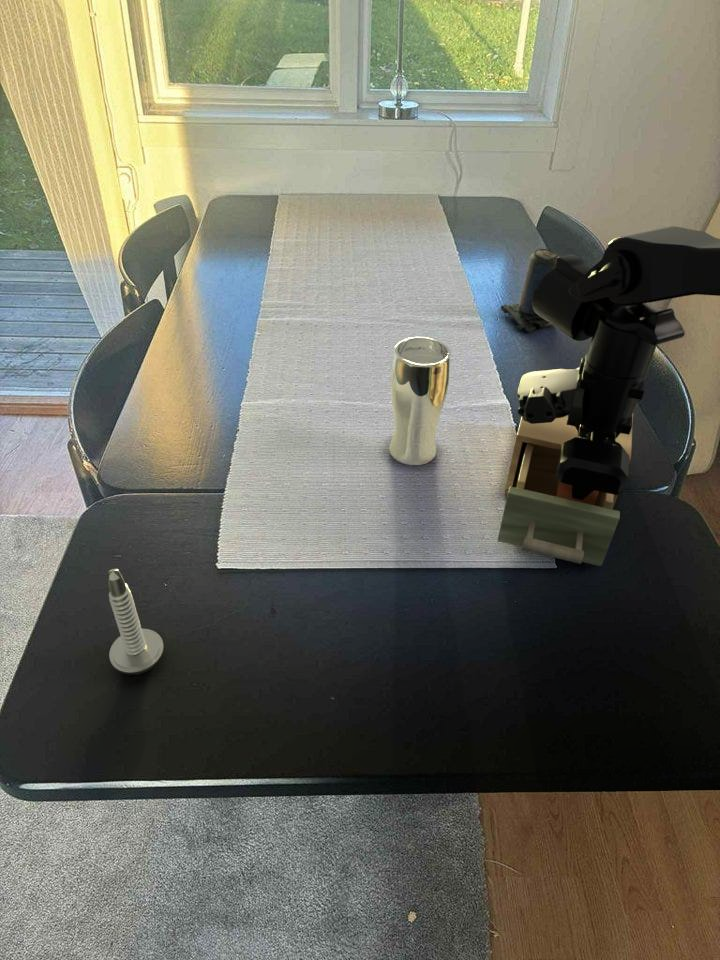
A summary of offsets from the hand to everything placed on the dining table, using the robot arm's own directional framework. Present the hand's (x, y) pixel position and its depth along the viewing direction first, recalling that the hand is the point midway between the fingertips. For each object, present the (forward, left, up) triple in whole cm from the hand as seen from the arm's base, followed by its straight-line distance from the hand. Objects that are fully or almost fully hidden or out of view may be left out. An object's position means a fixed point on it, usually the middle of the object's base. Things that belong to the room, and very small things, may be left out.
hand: (578, 485), depth 77 cm
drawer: (+2, +1, -6) cm, 6 cm away
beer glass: (+21, -8, -7) cm, 23 cm away
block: (0, 0, -1) cm, 1 cm away
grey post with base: (+12, -50, -7) cm, 52 cm away
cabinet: (+2, -11, -7) cm, 13 cm away
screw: (+37, +32, -7) cm, 49 cm away
